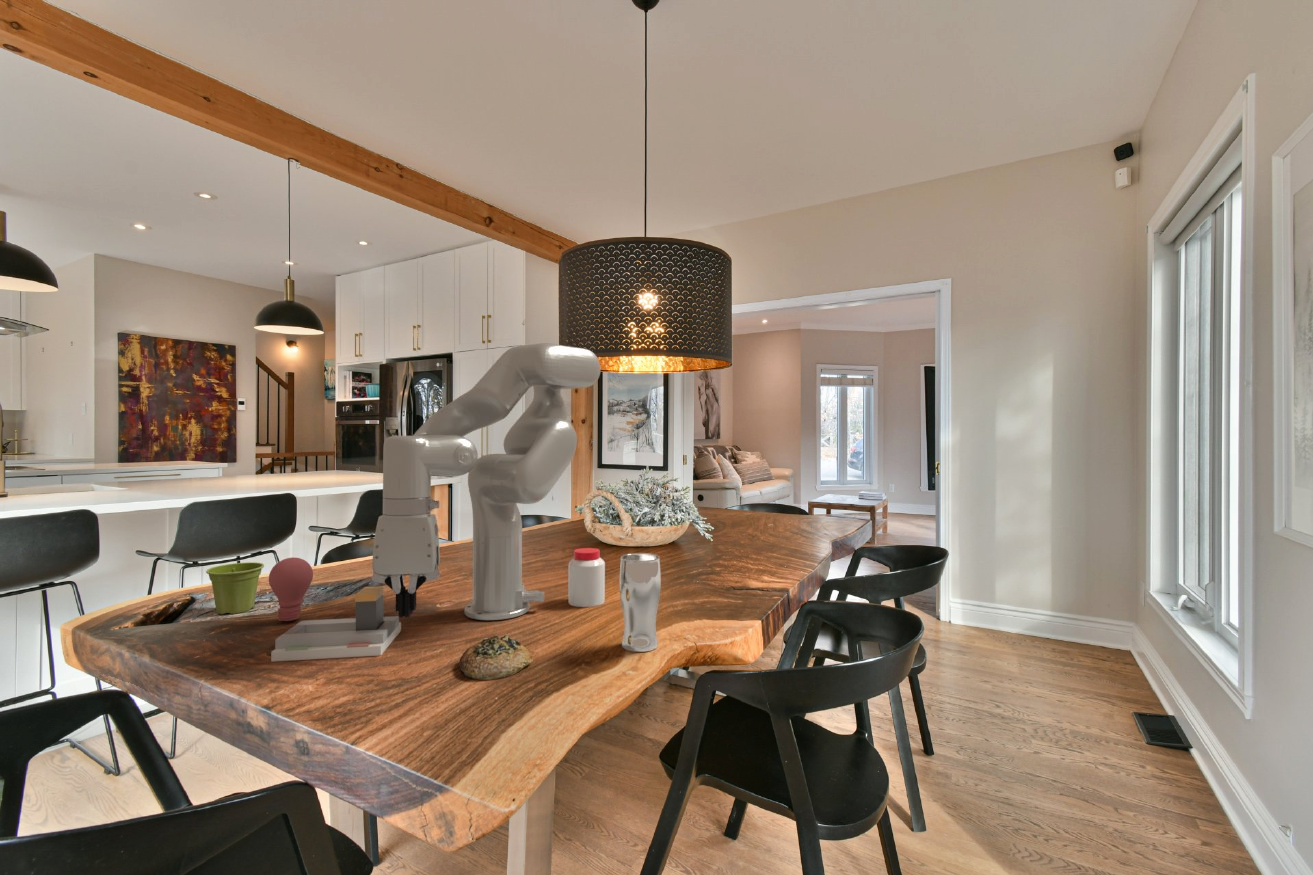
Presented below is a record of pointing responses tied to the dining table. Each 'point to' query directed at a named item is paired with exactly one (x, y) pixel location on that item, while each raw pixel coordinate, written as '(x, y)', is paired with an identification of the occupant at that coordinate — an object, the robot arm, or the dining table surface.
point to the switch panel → (334, 651)
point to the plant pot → (235, 586)
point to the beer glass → (640, 600)
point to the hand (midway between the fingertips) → (405, 614)
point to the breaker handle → (369, 608)
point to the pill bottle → (586, 578)
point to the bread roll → (494, 658)
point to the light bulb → (290, 586)
